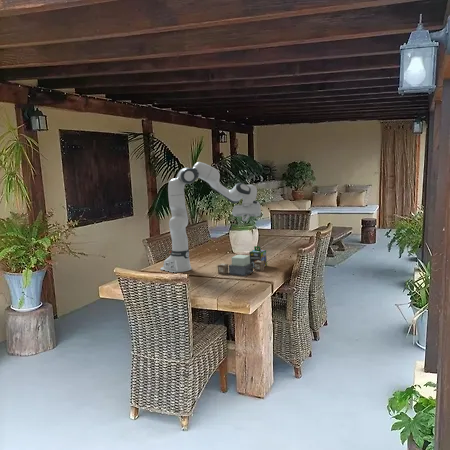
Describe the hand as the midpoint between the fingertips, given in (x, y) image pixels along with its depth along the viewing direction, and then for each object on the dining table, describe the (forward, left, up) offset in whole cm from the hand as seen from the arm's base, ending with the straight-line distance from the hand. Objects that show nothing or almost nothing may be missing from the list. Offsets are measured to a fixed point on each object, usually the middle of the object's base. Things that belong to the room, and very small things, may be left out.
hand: (244, 220), depth 302 cm
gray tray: (+4, -14, -33) cm, 37 cm away
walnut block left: (-7, -19, -33) cm, 39 cm away
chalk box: (+7, +6, -34) cm, 35 cm away
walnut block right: (+12, -3, -33) cm, 36 cm away
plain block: (+4, -14, -30) cm, 34 cm away
